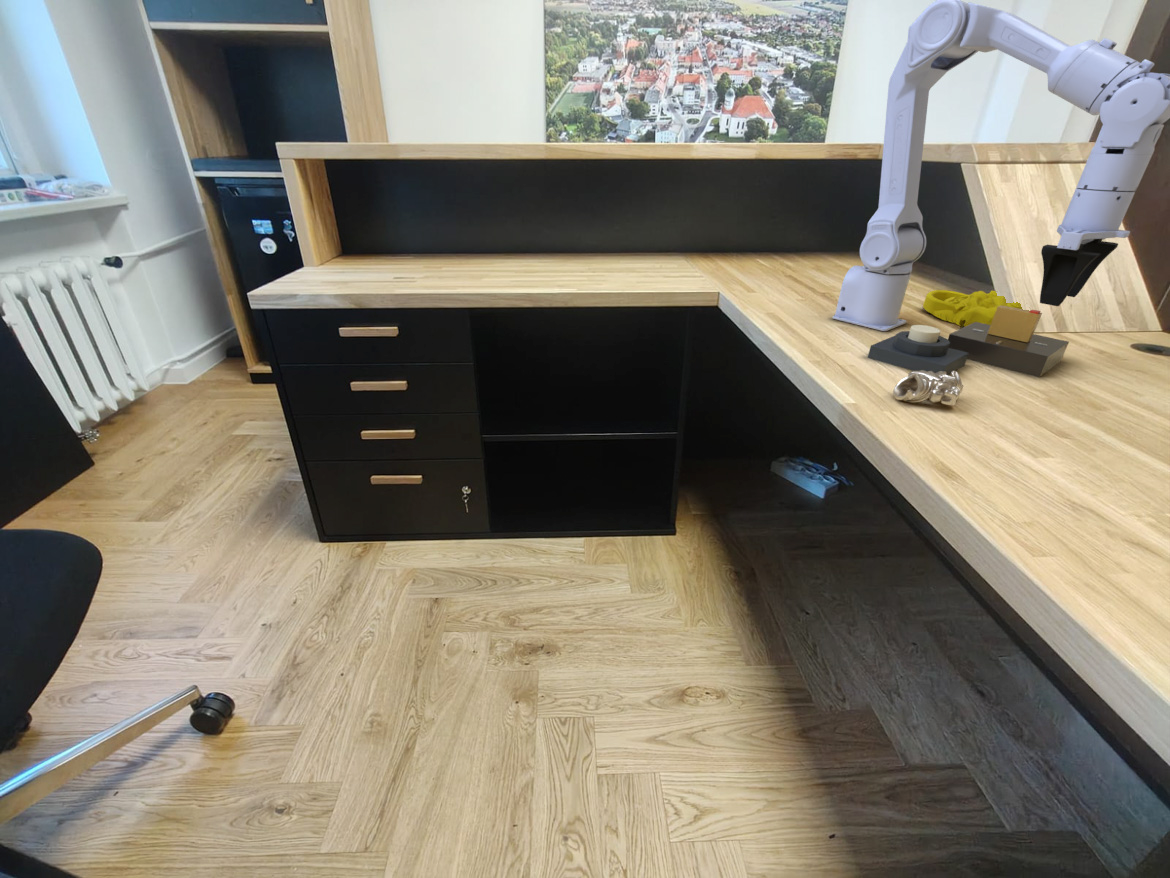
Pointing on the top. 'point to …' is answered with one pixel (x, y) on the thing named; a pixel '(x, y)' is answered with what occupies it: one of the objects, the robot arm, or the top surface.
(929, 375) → the ornament
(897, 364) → the doorbell
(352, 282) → the top surface
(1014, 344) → the plate
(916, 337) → the bell button
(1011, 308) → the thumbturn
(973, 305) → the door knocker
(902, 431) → the top surface
